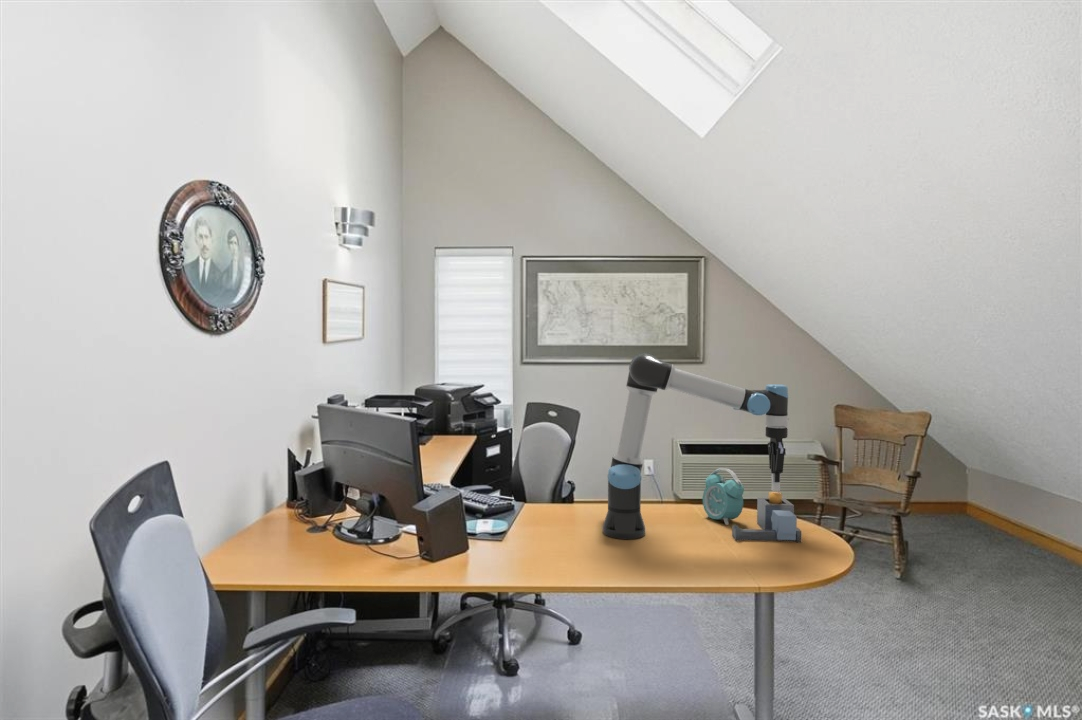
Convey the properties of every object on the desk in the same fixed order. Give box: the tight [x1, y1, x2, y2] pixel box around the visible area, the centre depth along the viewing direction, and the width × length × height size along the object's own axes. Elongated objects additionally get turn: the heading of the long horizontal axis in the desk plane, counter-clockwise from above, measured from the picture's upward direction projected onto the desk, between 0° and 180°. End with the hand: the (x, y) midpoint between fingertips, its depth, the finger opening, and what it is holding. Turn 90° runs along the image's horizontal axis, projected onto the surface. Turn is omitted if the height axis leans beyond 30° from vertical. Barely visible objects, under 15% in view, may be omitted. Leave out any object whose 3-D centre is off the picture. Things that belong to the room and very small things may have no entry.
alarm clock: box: [702, 467, 745, 526], centre depth 230 cm, size 17×10×20 cm, turn 25°
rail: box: [731, 524, 802, 544], centre depth 207 cm, size 22×5×4 cm, turn 86°
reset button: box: [768, 491, 783, 504], centre depth 220 cm, size 4×4×4 cm
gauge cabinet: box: [756, 497, 795, 530], centre depth 220 cm, size 10×11×10 cm
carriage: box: [772, 510, 798, 540], centre depth 207 cm, size 6×7×8 cm
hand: (775, 490), depth 220 cm, fingers closed
